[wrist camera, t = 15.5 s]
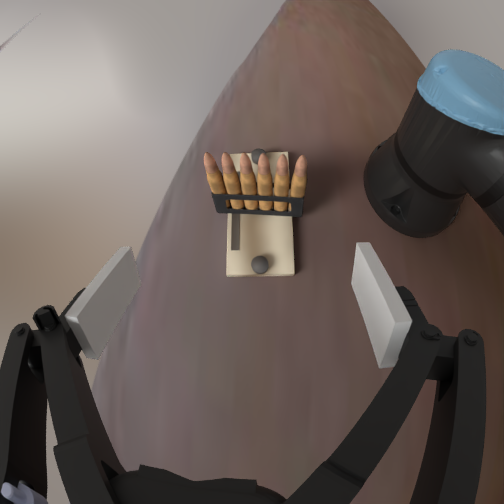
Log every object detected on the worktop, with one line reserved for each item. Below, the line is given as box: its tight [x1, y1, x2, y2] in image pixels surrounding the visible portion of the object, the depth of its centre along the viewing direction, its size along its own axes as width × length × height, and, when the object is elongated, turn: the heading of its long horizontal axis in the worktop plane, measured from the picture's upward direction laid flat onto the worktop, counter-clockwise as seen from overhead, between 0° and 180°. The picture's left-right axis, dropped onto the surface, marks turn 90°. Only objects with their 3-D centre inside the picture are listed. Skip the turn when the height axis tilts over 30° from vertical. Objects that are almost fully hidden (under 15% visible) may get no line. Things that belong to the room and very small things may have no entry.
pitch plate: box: [227, 149, 294, 277], centre depth 38 cm, size 8×17×2 cm, turn 0°
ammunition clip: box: [204, 152, 307, 217], centre depth 32 cm, size 11×2×12 cm, turn 85°
